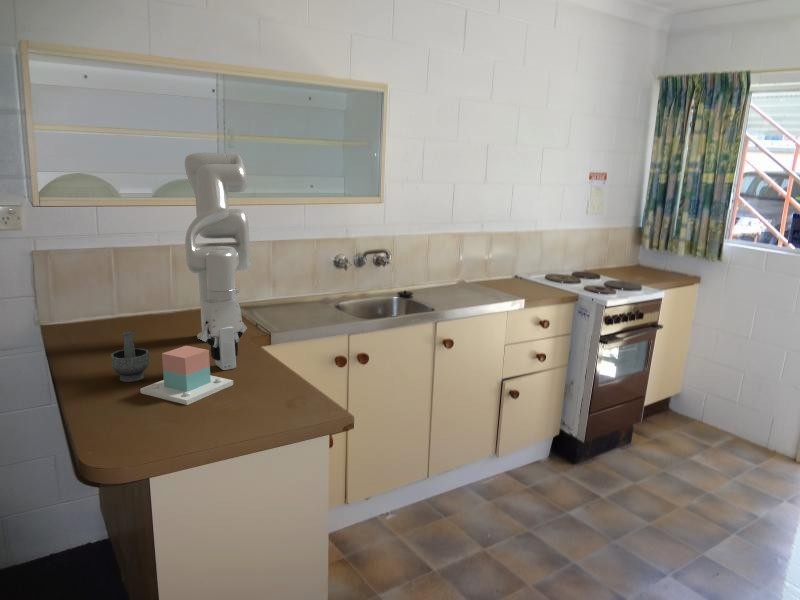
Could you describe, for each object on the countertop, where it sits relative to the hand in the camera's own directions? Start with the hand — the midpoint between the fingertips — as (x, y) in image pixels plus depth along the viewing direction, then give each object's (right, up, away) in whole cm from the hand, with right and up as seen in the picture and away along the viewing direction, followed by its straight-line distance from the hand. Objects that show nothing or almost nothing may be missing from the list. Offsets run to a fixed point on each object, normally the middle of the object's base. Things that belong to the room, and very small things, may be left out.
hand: (224, 356), depth 174 cm
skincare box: (0, -3, +1) cm, 3 cm away
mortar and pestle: (-23, -5, -8) cm, 25 cm away
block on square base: (-5, -7, -16) cm, 18 cm away
